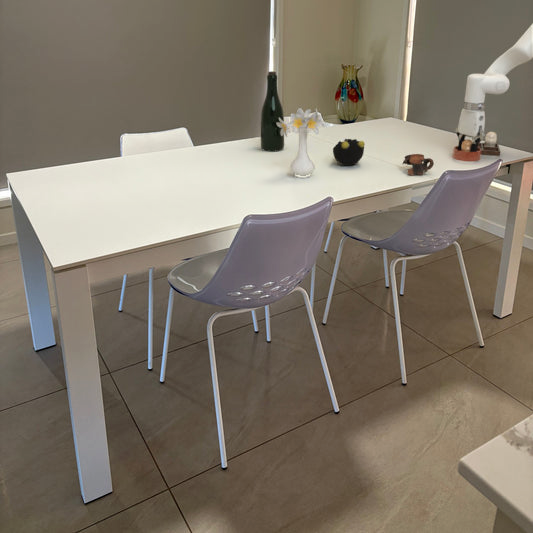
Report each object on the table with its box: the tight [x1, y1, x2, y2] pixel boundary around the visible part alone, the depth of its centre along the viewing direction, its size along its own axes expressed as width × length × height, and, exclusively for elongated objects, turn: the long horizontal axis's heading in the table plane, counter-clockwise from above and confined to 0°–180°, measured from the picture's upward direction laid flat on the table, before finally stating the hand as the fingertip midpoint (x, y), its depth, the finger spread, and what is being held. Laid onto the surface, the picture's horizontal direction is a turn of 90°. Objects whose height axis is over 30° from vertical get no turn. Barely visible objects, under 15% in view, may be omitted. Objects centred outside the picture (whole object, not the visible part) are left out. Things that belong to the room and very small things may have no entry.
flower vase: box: [276, 107, 326, 179], centre depth 218 cm, size 13×18×25 cm
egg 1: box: [461, 138, 473, 152], centre depth 241 cm, size 5×5×8 cm
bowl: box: [452, 145, 482, 162], centre depth 242 cm, size 11×11×4 cm
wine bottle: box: [260, 70, 285, 152], centre depth 255 cm, size 10×10×33 cm
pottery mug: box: [402, 153, 435, 176], centre depth 226 cm, size 12×10×8 cm
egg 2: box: [484, 131, 498, 147], centre depth 254 cm, size 5×5×8 cm
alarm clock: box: [332, 138, 366, 166], centre depth 236 cm, size 12×15×15 cm
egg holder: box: [478, 142, 501, 157], centre depth 253 cm, size 14×14×2 cm
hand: (467, 150), depth 242 cm, fingers open, 6 cm apart
